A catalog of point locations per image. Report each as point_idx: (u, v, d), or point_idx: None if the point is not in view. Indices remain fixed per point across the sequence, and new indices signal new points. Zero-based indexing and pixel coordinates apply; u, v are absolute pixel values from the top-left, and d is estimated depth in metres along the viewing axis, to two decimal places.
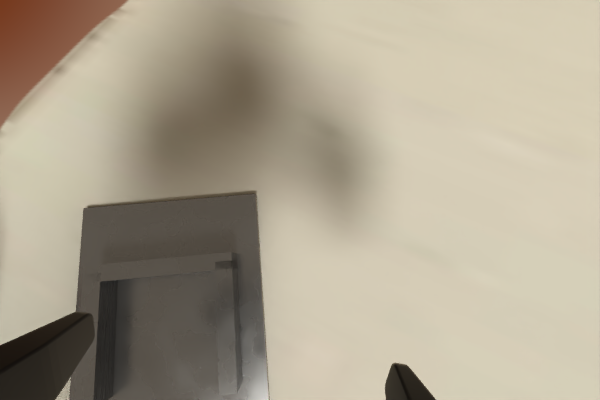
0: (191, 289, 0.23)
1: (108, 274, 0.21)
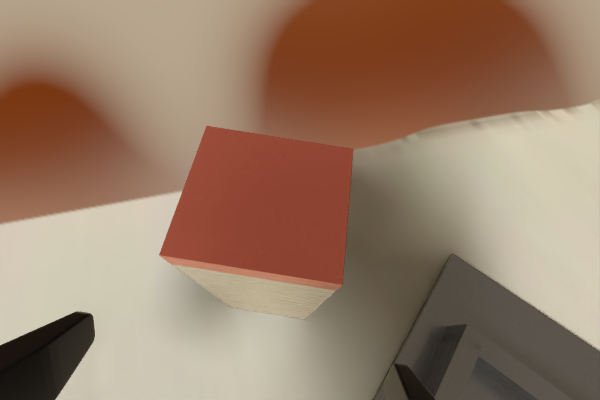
0: None
1: (489, 356, 0.17)
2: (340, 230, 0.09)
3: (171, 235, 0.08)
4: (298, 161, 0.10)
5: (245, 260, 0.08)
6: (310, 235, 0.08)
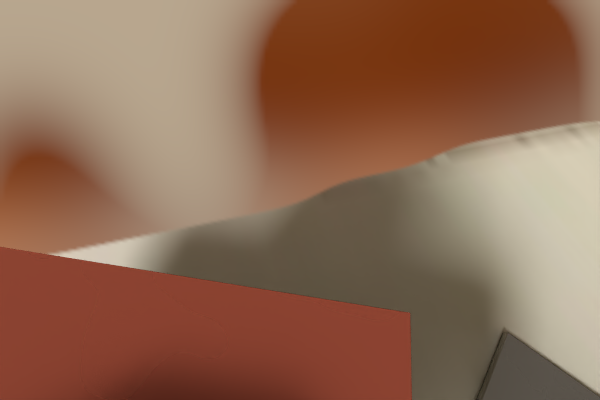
0: None
1: None
2: None
3: None
4: (240, 373, 0.03)
5: None
6: None
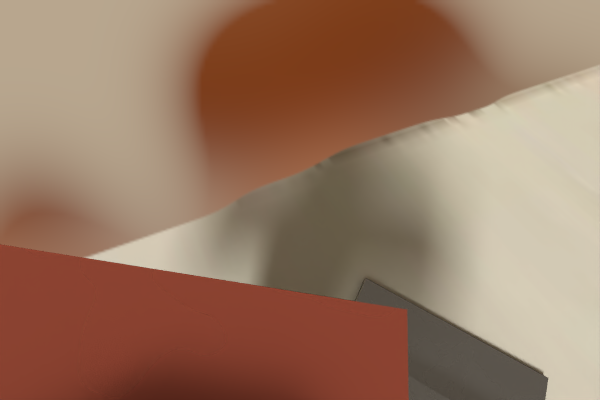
0: None
1: None
2: None
3: None
4: (238, 369, 0.03)
5: None
6: None
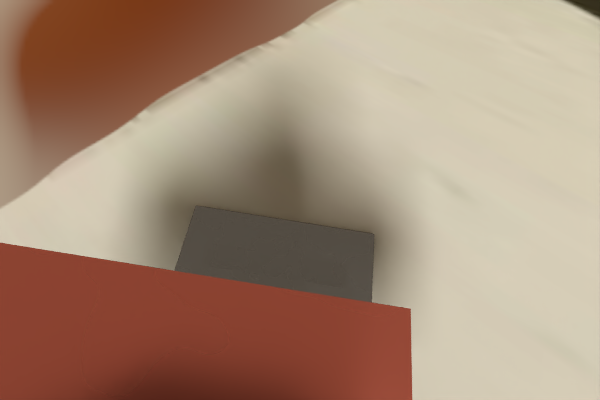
0: None
1: None
2: None
3: None
4: (241, 368, 0.03)
5: None
6: None
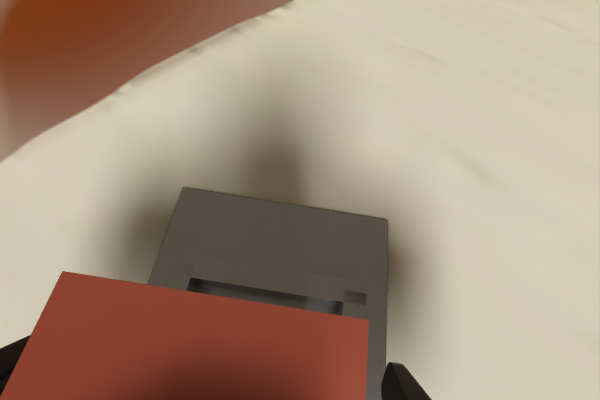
0: None
1: (203, 271, 0.15)
2: None
3: None
4: (250, 361, 0.04)
5: None
6: None
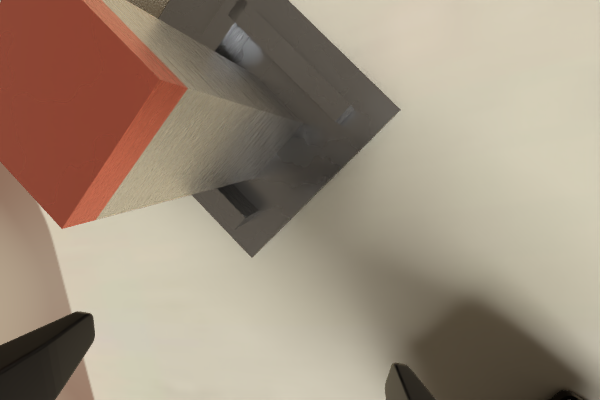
0: None
1: None
2: (108, 38, 0.07)
3: (49, 210, 0.08)
4: (19, 32, 0.07)
5: (95, 161, 0.07)
6: (100, 78, 0.07)
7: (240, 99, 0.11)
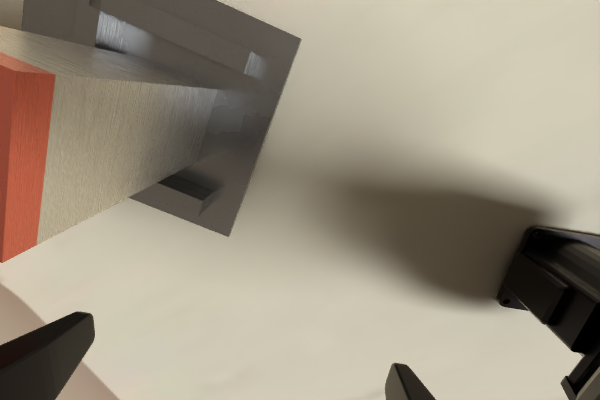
0: None
1: None
2: None
3: None
4: None
5: None
6: None
7: (129, 78, 0.10)
